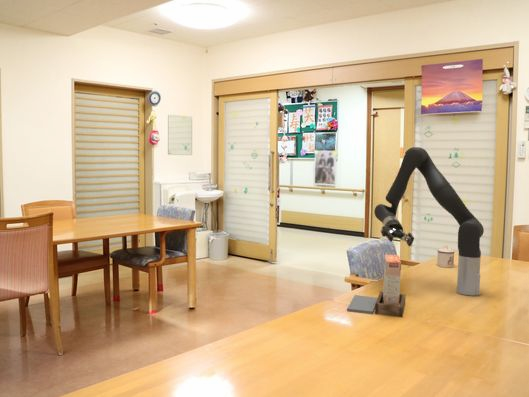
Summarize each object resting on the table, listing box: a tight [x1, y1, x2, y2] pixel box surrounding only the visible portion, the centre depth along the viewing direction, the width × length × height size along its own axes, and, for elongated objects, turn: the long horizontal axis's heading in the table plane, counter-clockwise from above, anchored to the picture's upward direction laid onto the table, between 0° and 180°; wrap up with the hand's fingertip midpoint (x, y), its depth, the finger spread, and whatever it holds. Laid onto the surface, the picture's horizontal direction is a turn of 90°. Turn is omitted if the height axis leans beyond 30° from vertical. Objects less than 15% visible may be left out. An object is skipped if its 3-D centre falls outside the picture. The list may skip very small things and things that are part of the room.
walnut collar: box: [374, 291, 406, 318], centre depth 197 cm, size 10×18×4 cm, turn 161°
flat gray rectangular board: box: [346, 294, 378, 315], centre depth 201 cm, size 10×20×1 cm, turn 161°
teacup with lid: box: [436, 245, 455, 269], centre depth 275 cm, size 12×9×12 cm
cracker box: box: [382, 254, 402, 306], centre depth 196 cm, size 14×6×21 cm, turn 168°
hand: (401, 242), depth 212 cm, fingers open, 8 cm apart
